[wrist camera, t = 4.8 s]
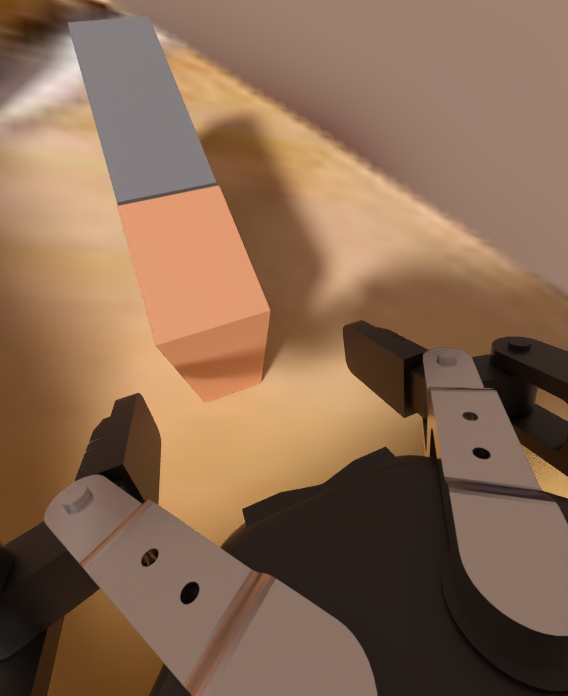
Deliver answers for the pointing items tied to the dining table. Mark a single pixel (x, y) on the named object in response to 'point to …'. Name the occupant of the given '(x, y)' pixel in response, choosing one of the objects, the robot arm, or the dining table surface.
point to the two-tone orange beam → (199, 289)
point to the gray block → (138, 111)
